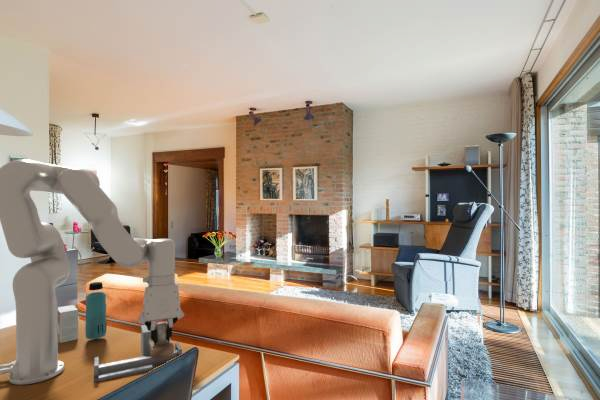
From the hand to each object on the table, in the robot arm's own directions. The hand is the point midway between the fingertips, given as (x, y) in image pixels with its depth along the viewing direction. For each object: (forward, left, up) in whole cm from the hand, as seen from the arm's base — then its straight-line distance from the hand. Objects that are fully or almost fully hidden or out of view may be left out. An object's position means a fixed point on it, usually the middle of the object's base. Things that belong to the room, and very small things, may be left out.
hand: (161, 340), depth 108 cm
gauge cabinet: (-1, +9, -7) cm, 11 cm away
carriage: (0, 0, -4) cm, 4 cm away
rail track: (-6, 0, -7) cm, 9 cm away
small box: (-27, +36, -7) cm, 45 cm away
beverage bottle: (-18, +29, -7) cm, 35 cm away
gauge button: (-1, +9, +1) cm, 9 cm away
